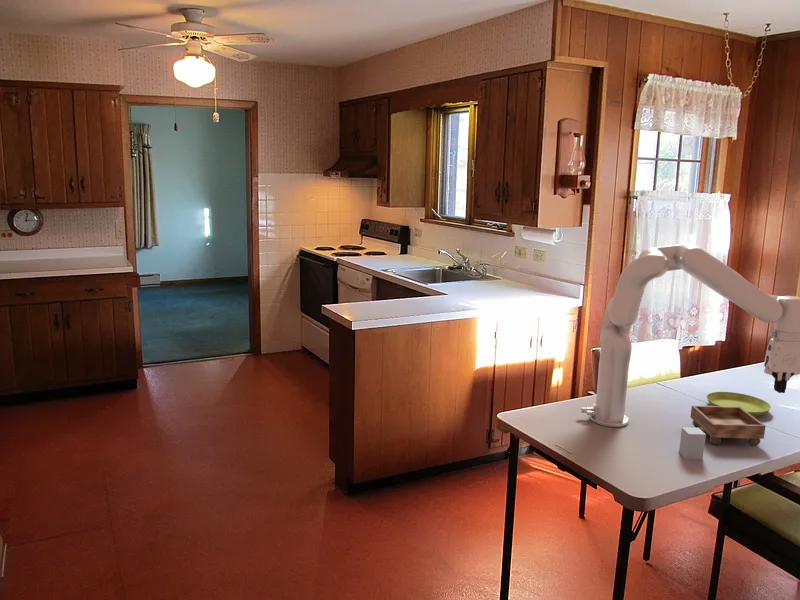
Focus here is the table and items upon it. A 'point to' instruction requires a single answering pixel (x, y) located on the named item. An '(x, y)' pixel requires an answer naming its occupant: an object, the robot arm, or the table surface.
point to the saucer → (739, 402)
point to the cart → (727, 423)
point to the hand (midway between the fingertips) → (779, 391)
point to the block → (692, 443)
